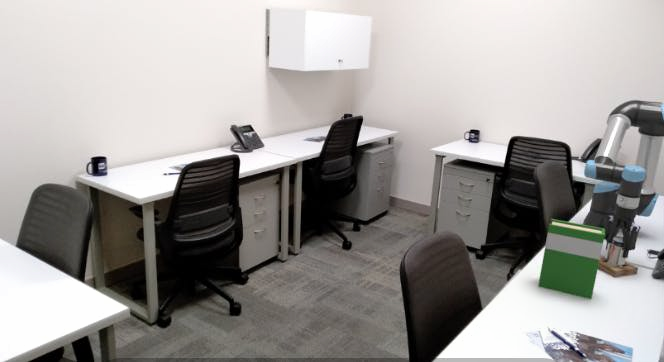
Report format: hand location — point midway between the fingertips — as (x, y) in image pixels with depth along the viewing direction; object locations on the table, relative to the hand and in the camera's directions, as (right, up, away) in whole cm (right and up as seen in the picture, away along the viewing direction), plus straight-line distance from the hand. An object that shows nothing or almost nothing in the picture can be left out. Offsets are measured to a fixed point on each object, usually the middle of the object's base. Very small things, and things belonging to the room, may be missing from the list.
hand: (614, 261), depth 210 cm
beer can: (0, -2, 0) cm, 2 cm away
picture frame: (0, -3, +1) cm, 4 cm away
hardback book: (-28, -7, -18) cm, 34 cm away
